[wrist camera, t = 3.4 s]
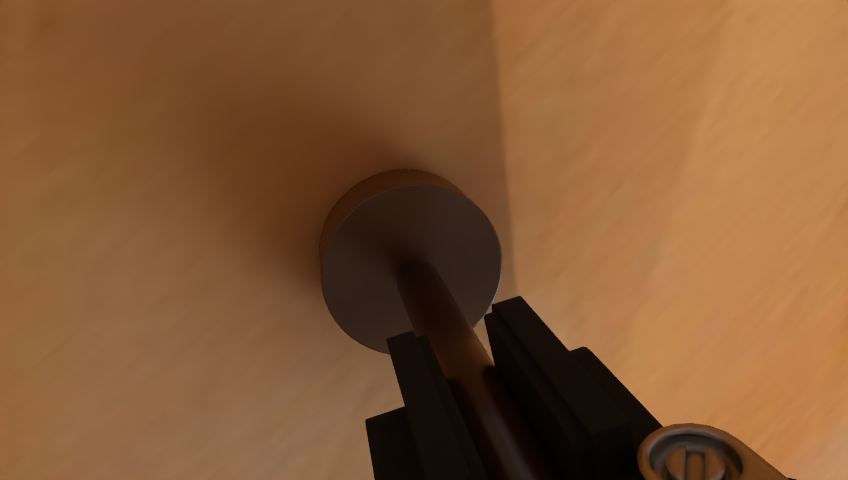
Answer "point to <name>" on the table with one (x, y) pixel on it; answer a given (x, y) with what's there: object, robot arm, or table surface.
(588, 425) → the robot arm
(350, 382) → the table surface
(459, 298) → the plunger
